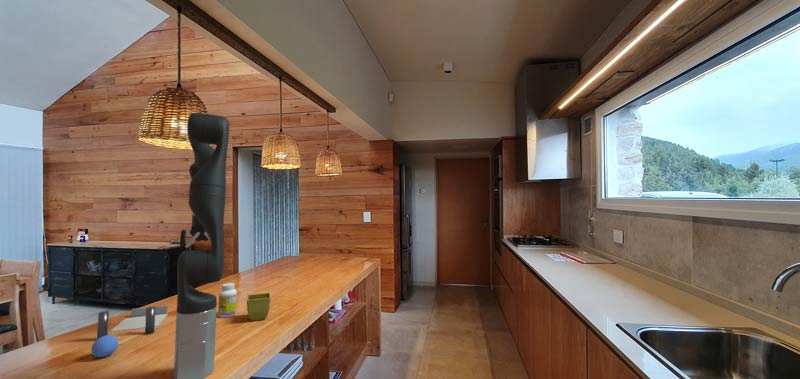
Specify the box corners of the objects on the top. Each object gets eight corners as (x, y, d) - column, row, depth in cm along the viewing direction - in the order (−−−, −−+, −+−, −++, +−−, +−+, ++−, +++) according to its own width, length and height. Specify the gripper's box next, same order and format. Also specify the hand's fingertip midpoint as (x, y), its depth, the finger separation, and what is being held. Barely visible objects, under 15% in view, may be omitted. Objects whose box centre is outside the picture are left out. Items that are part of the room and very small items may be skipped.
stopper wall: (166, 313, 131) (166, 306, 132) (130, 317, 127) (131, 309, 127) (167, 312, 133) (167, 305, 133) (132, 316, 128) (132, 308, 128)
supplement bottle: (214, 316, 128) (215, 285, 129) (229, 311, 134) (230, 281, 135) (224, 319, 125) (225, 287, 126) (239, 314, 131) (240, 283, 132)
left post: (105, 339, 105) (106, 312, 106) (95, 341, 104) (97, 313, 105) (108, 337, 108) (110, 310, 108) (99, 338, 107) (100, 311, 107)
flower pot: (246, 316, 128) (247, 294, 129) (269, 313, 132) (270, 292, 132) (245, 324, 120) (246, 300, 121) (270, 320, 124) (270, 297, 124)
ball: (112, 358, 92) (114, 338, 93) (86, 362, 90) (87, 341, 90) (121, 350, 98) (122, 330, 98) (96, 353, 95) (97, 333, 96)
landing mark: (157, 326, 118) (157, 325, 118) (110, 331, 112) (110, 331, 112) (168, 314, 130) (168, 313, 130) (126, 318, 125) (126, 318, 125)
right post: (152, 333, 110) (154, 308, 111) (143, 335, 109) (145, 309, 110) (155, 331, 113) (156, 306, 113) (146, 332, 112) (147, 306, 112)
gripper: (179, 214, 114) (177, 259, 112) (223, 214, 119) (221, 257, 118) (184, 214, 121) (182, 256, 119) (226, 214, 126) (224, 254, 125)
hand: (202, 256), depth 119 cm, fingers open, 8 cm apart
